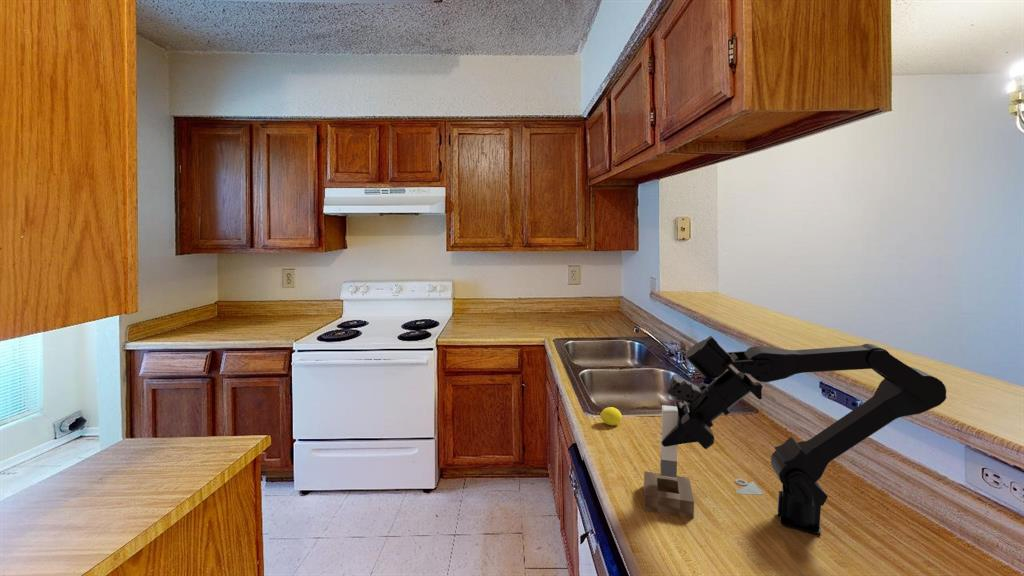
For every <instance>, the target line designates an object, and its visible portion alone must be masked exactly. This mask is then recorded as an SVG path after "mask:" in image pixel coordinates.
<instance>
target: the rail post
mask: <svg viewBox="0 0 1024 576" xmlns="http://www.w3.org/2000/svg"><path fill="white" fill-rule="evenodd" d="M677 422H678V409H677V407H676V406H675V405H674V406H673V405H663V404H662V405H661V432H660V439H661V440H660V463H659V464H660V465H659V466H660V468H659V469H660V474H661V477H667V478H674V479H676V478H677V476H678V475H677V474H678V471H677V470H678V445H673V446H667V447H664V446H663V445H662V443H661V442H662V441H663V439H664V438H665V437H666V436H667V435H668V434H669V433H670V432H671V431H672V430H673V429H674V428H675V426H676V425H677Z"/></svg>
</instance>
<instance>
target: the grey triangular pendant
mask: <svg viewBox="0 0 1024 576" xmlns="http://www.w3.org/2000/svg"><path fill="white" fill-rule="evenodd" d="M740 482H742V483H740ZM734 483H735V484H737V486H741V488H740V489H737V490H736V491H735V493H737V494H739V495H759V496H762V495H764V492H763V490H761V489H760V488H759V487H758V485H757V484H756V483H755V482H754V481H751V482H749V483H748V481H747V480H744V479H742V478H735V479H734Z"/></svg>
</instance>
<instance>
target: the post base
mask: <svg viewBox="0 0 1024 576" xmlns="http://www.w3.org/2000/svg"><path fill="white" fill-rule="evenodd" d="M643 472H644V473H643V474H644V475H643V511H647V512H652V513H659V514H663V515H664V514H665V515H669V516H670V515H671V516H675V517H676V516H677V517H683V518H689V519H694V517H695V514H694V513H695V499H694V494H693V488H692V485H691V484H692V483H691V479H690V477H686V476H681V475H677V478H676V479H674V478H667V477H661V472H660V473H659V472H651V471H646V470H645V471H643Z"/></svg>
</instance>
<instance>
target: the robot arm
mask: <svg viewBox="0 0 1024 576" xmlns="http://www.w3.org/2000/svg"><path fill="white" fill-rule="evenodd" d="M684 359H685V360H687V362H689V363H690V364H691V366H693V367H694V368H695V369H696V371H697V372H699V373H700V374H701V375H702V376H703V377H704V378H705V379H708V378H710V379H712V380H713V381H712V382H710V383H709V384H707V383H702V384H700V385H699V386H697V385H696V384H693V383H692V382H691V381H688V380H687V379H684V378H682V377H681V376H678V375H676V374H673V375H672V376H671V378H670V380H669V381H668V383H667V385H666V392H667V394H668V395H670V396H672V397H676V401H675V402H674V403H675V405H674V406H676V407H677V409H678V422H677V425H676V426H675V428H674V429H673V430H672V431H671V432H670V433H669V434H668V435H667V436H666V437H665V438H664V439H663V441H662V442H661V441H660V444H661V443H662V445H663V446H664V447H667V446H673V445H677V446H678V445H683V444H693V443H698V444H699V445H700V446H701V447H703V449H704V450H708V449H709V448H710V447H712V446H713V445H714V444H715V436H714V433H713V431H712V429H711V427H713V426H714V422H713V421H715V420H716V419H717V418H718V417H720V416H721V415H722V414H724V415H725V416H727V415H729V414H730V413H731V411H730V409H731V407H734V405H736V404H737V403H738V402H739V401H741V400H742V399H743V398H745V397H746V396H747V395H749V394H750V393H752V395H753V396H754V397H756V399H758V400H762V399H763V396H762V392H763V391H762V390H763V387H764V386H763V385H762V383H771V382H774V381H779V380H785V379H787V378H789V377H792V376H795V375H798V374H805V373H806V374H807V373H821V372H822V373H823V372H839V371H854V370H855V371H856V370H857V371H859V370H869V369H870V370H872V371H874V372H875V373H876V374H878V375H879V376H880V377H882V378H883V379H882V380H881V381H880V382H879V384H878V387H877V389H876V390H875V392H874V394H873V396H872V397H870V398H869V399H868V400H866V401H864V402H863V403H861V404H860V405H859V406H857V407H856V408H854V409H853V410H851V411H850V412H848V413H847V414H845V415H844V416H842V417H841V418H839V419H838V420H836V421H835V422H833V423H831V424H830V425H829V426H828V427H826V428H825V429H822V431H820V432H819V433H817V434H816V435H814V436H812V437H811V438H809V439H808V440H803V441H799V442H798V441H796V440H795V438H794V437H789V438H788V439H786V440H785V441H784V442H783V443H782V444H781V445H778V446H774V449H775V450H774V452H773V453H772V454H771V455H770V465H771V467H772V469H773V471H774V472H775V474H776V476H777V478H778V479H779V481H780V483H781V484H782V486H781V487H782V489H781V490H779V491H778V499H777V516H778V517H779V518H780V522H779V523H780V524H781V525H782V526H785V527H787V528H793V529H796V530H799V531H804V532H807V533H811V534H814V535H817V536H819V535H822V530H821V525H820V524H821V513H822V506H824V505H825V503H826V501H827V499H828V495H827V493H826V492H825V491H824V489H823V487H822V486H821V485H820V484H819V482H818V481H819V480H821V478H822V477H823V475H824V473H825V471H826V469H827V467H828V465H829V464H830V463H831V462H832V461H833V460H835V459H837V458H838V457H840V456H842V455H843V454H845V453H846V452H847V451H849V450H851V449H853V448H854V447H855V446H857V445H858V444H860V443H861V442H864V441H865V440H866V439H868V438H870V437H871V436H873V435H874V434H875V433H876V432H878V431H880V430H882V429H884V428H885V427H886V426H887V425H889V424H891V423H892V422H893V421H896V420H897V419H899V418H903V417H904V418H905V417H910V416H916V415H920V414H922V413H925V412H928V411H930V410H932V409H935V408H937V407H939V406H941V405H942V404H943V403H944V402H945V401H946V400H947V388H946V385H945V384H944V383H943V381H942V380H941V379H939V378H938V377H935V376H933V375H931V374H929V373H926V372H925V371H922V370H920V369H918V368H915V367H912V366H909V365H907V364H906V363H904V362H903V361H901V360H899V359H898V358H896V357H895V356H893V355H892V354H891V353H890V352H889V351H888V350H886V349H884V348H882V347H880V346H878V345H876V344H874V343H873V344H872V343H863V344H861V345H850V346H848V345H847V346H837V347H836V346H833V347H824V348H823V347H822V348H808V349H807V348H806V349H784V348H781V347H775V346H761V345H760V346H759V345H758V346H757V345H753V346H750V347H748V348H747V349H746V350H745V351H731V352H729V351H728V352H727V351H726V350H725V349H724V348H723V347H722V346H721V345H720V344H719V342H718V341H717V340H716V339H715V338H714V337H713V336H712V335H710V336H708V337H706V338H705V339H702V340H701V341H699V342H698V343H695V344H694V345H692V346H691V347H690V348H689V349H688V350H687V351H686V353H685V354H684ZM730 365H731V366H730ZM732 367H734V368H735V369H736V370H737V371H738V372H737V371H736V370H735V369H733V368H732ZM748 375H750V376H751V377H752V378H753V379H754V380H756V381H753V380H752V379H751V378H750V377H749V376H748ZM677 400H678V401H680V400H681V401H680V402H678V401H677Z"/></svg>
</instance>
